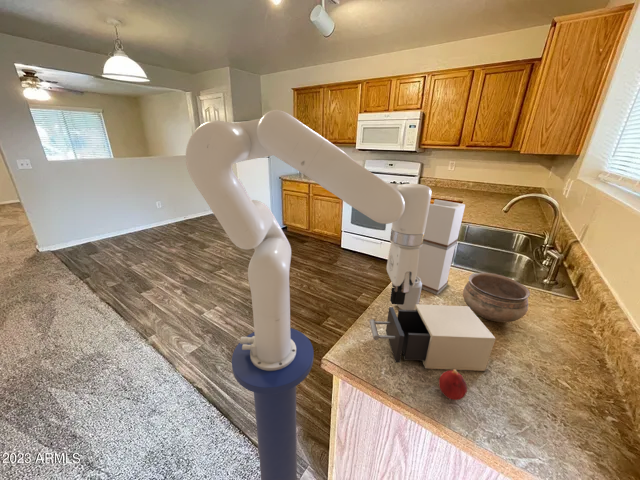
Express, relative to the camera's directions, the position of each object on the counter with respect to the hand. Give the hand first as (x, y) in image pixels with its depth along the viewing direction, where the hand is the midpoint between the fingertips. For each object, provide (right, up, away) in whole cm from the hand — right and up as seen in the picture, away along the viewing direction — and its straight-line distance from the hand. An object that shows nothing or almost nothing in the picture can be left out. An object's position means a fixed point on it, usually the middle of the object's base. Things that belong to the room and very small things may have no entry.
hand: (396, 302), depth 69 cm
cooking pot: (+39, -10, +24) cm, 47 cm away
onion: (+11, -21, -7) cm, 24 cm away
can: (+12, -8, +27) cm, 31 cm away
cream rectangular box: (+16, -16, +7) cm, 24 cm away
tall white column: (+26, -3, +43) cm, 50 cm away
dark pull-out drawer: (+5, -14, +7) cm, 17 cm away
